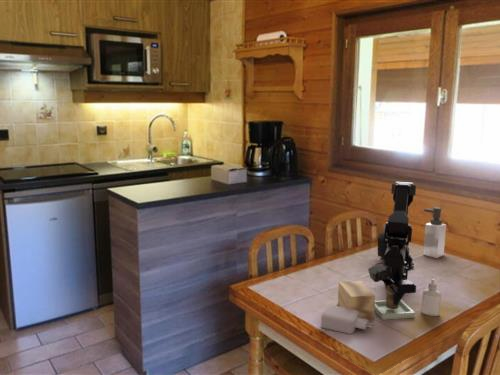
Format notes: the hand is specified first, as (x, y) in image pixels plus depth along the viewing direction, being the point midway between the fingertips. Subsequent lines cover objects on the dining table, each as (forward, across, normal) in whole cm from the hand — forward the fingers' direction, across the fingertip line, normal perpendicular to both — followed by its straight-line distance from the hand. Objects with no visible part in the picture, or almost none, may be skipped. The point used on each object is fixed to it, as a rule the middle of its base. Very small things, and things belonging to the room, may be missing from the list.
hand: (392, 302), depth 153 cm
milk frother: (+4, -44, +23) cm, 50 cm away
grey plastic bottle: (+4, +8, -18) cm, 20 cm away
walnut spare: (+2, 0, 0) cm, 2 cm away
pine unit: (+3, -2, -12) cm, 13 cm away
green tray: (+3, 0, 0) cm, 3 cm away
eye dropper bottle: (+4, +3, +12) cm, 13 cm away
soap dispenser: (+4, -52, +43) cm, 67 cm away
